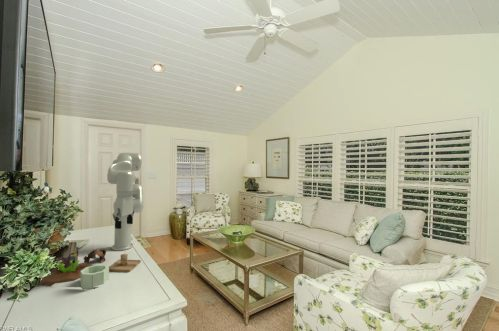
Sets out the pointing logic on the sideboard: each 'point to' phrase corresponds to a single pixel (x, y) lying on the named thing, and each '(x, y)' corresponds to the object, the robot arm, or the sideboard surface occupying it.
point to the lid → (123, 264)
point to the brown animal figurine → (93, 255)
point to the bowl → (94, 276)
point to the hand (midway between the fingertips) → (124, 226)
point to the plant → (65, 272)
